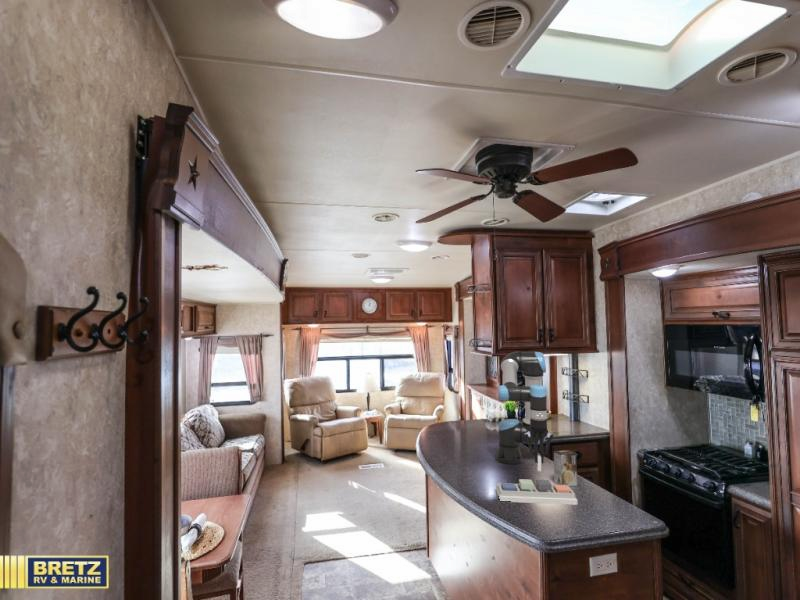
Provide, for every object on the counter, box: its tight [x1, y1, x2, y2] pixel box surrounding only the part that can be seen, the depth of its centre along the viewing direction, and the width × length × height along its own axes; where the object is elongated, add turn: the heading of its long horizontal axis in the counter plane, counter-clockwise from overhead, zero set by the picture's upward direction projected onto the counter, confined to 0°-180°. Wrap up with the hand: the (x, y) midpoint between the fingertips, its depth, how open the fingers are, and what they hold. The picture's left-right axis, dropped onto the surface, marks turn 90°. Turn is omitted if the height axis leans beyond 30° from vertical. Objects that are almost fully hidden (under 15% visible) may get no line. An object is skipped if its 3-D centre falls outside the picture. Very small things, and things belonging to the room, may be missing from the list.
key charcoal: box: [535, 479, 553, 490], centre depth 198 cm, size 6×6×2 cm
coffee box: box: [553, 449, 578, 487], centre depth 215 cm, size 9×6×16 cm
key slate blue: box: [501, 482, 516, 491], centre depth 200 cm, size 6×6×2 cm
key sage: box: [518, 478, 535, 490], centre depth 199 cm, size 6×6×2 cm
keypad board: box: [495, 482, 579, 506], centre depth 198 cm, size 13×34×4 cm, turn 85°
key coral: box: [553, 484, 570, 493], centre depth 198 cm, size 6×6×2 cm
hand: (539, 470), depth 199 cm, fingers closed
